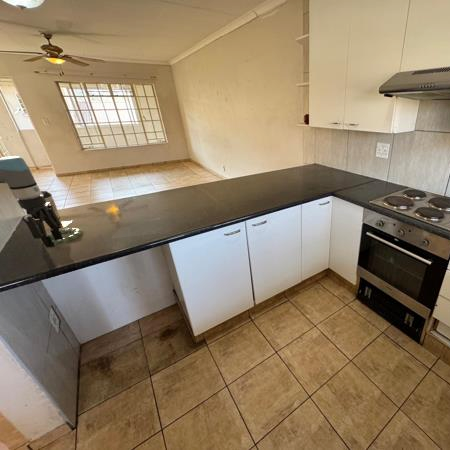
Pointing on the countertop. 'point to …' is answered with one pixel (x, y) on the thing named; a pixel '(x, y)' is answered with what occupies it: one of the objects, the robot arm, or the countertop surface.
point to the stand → (60, 222)
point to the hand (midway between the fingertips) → (56, 245)
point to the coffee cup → (50, 201)
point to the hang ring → (72, 230)
